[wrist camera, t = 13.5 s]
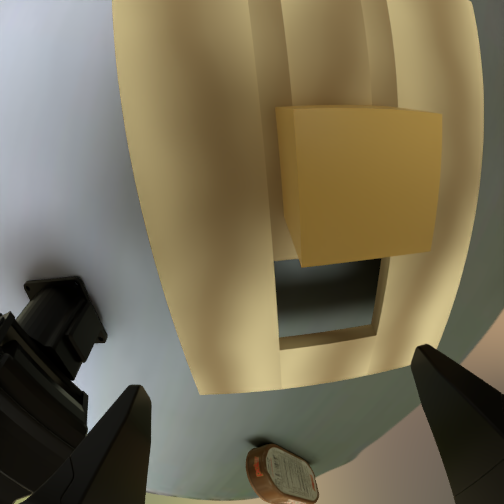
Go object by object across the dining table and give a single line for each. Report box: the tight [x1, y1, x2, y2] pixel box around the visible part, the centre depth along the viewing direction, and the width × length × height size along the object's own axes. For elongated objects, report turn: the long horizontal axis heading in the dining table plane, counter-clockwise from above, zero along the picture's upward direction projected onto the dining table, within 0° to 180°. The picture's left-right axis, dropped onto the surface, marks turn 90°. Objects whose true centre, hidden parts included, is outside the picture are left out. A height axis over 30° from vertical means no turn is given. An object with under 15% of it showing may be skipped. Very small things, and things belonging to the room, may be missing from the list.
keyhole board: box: [112, 0, 484, 395], centre depth 15 cm, size 16×22×6 cm
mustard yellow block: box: [275, 105, 442, 268], centre depth 11 cm, size 4×4×8 cm
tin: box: [246, 444, 319, 504], centre depth 31 cm, size 15×3×8 cm, turn 35°
